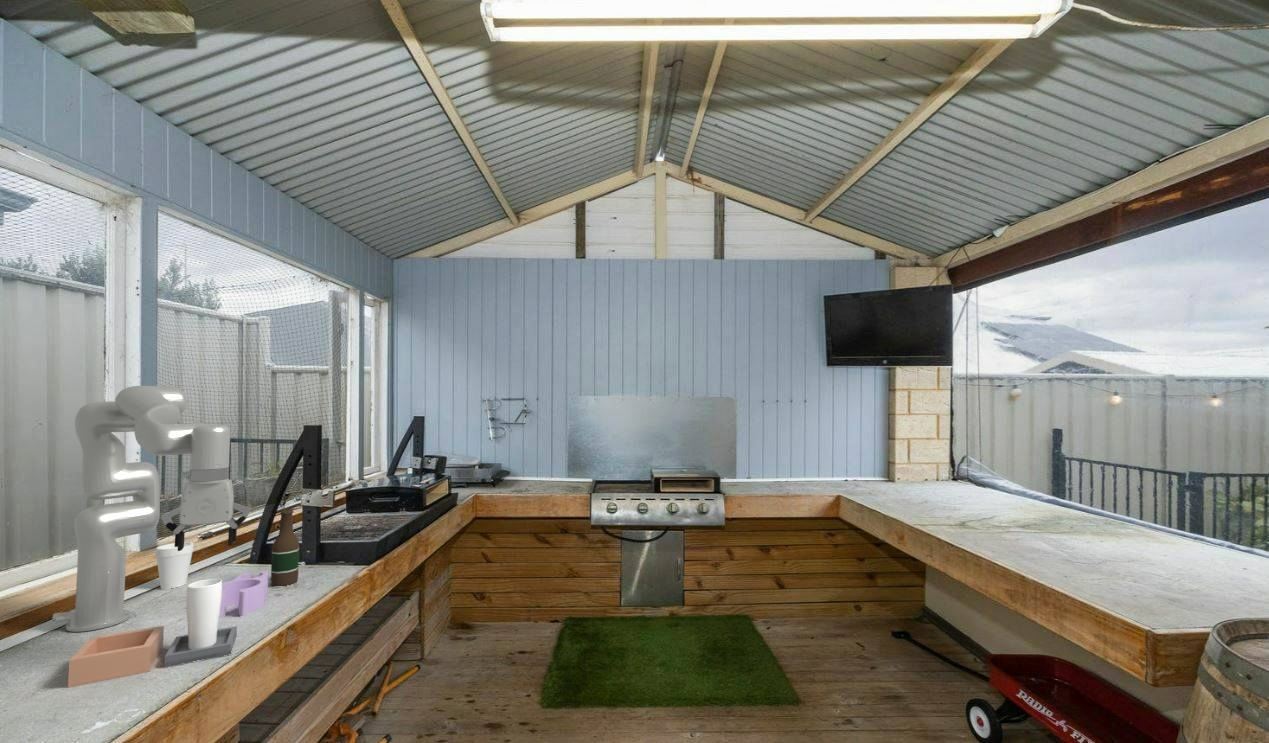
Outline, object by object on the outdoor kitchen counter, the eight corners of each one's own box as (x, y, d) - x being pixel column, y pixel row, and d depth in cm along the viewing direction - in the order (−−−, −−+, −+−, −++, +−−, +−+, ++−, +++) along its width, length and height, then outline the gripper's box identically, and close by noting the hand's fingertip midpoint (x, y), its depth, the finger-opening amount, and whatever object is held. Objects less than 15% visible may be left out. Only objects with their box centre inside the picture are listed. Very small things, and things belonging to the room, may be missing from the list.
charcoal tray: (164, 667, 123) (165, 656, 123) (175, 647, 133) (176, 636, 133) (230, 654, 129) (231, 644, 129) (236, 636, 139) (236, 626, 139)
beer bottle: (295, 578, 185) (297, 506, 187) (301, 583, 180) (303, 509, 181) (268, 583, 180) (270, 509, 181) (273, 589, 174) (275, 513, 176)
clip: (232, 596, 168) (233, 573, 169) (278, 592, 172) (279, 570, 172) (201, 621, 149) (202, 595, 150) (254, 616, 153) (255, 591, 153)
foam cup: (196, 584, 179) (198, 544, 180) (161, 593, 171) (162, 551, 172) (185, 579, 184) (186, 540, 185) (150, 587, 176) (151, 546, 177)
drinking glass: (189, 655, 126) (191, 589, 127) (180, 647, 130) (183, 583, 131) (224, 645, 132) (226, 582, 133) (215, 638, 136) (217, 576, 137)
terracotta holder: (68, 687, 114) (69, 660, 115) (89, 662, 126) (90, 637, 126) (149, 671, 121) (150, 646, 121) (162, 648, 132) (163, 625, 133)
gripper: (159, 480, 126) (155, 555, 125) (251, 475, 135) (248, 545, 134) (166, 476, 132) (163, 548, 131) (253, 471, 141) (250, 539, 140)
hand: (206, 546), depth 132 cm, fingers open, 9 cm apart
